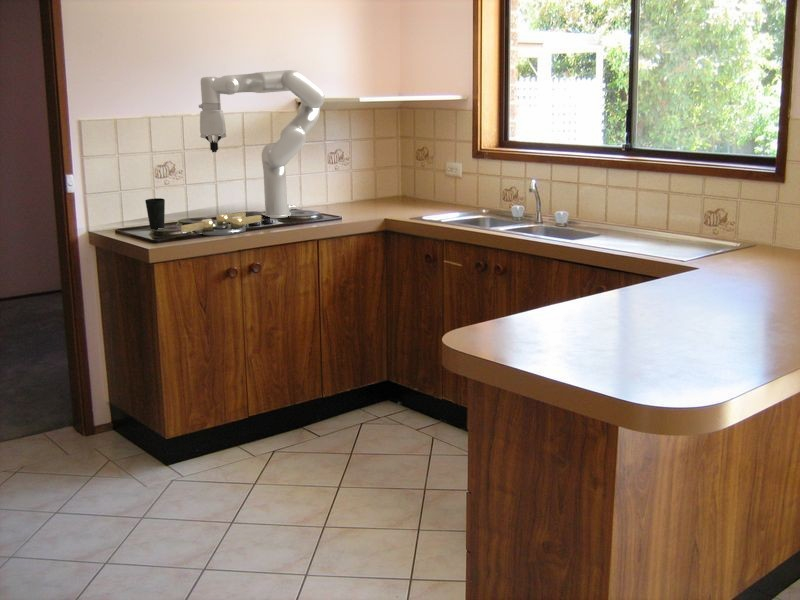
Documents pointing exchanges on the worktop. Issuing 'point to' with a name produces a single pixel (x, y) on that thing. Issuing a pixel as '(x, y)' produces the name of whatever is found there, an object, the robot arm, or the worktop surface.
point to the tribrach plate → (222, 230)
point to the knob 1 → (228, 218)
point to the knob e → (198, 226)
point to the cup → (156, 212)
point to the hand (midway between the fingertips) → (214, 151)
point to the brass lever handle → (244, 220)
